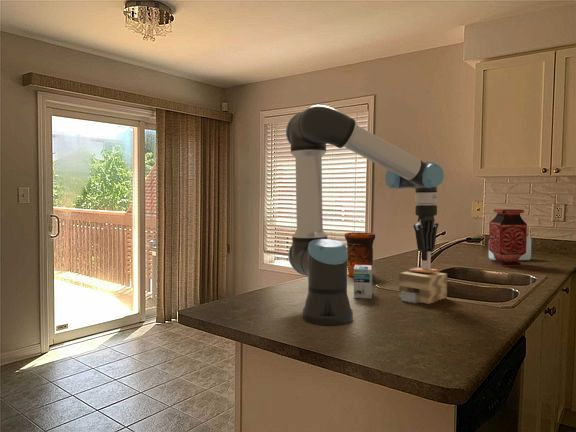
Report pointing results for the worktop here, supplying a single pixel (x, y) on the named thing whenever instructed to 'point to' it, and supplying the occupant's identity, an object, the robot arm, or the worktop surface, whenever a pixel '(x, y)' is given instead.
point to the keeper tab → (422, 270)
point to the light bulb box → (363, 281)
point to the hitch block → (424, 285)
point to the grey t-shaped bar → (410, 296)
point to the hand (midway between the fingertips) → (426, 269)
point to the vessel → (359, 250)
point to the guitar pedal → (523, 257)
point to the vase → (507, 237)
